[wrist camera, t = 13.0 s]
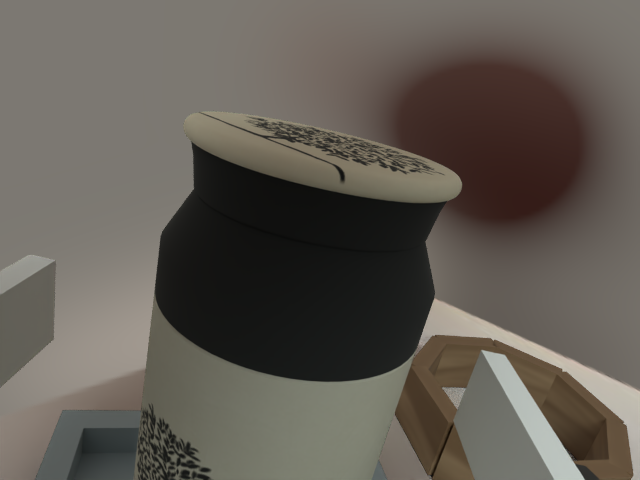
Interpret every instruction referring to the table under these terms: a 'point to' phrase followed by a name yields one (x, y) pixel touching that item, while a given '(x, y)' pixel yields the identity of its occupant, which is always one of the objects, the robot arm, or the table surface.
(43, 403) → the table surface
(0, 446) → the table surface
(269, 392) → the travel mug
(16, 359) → the robot arm
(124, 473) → the tray
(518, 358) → the mug holder
